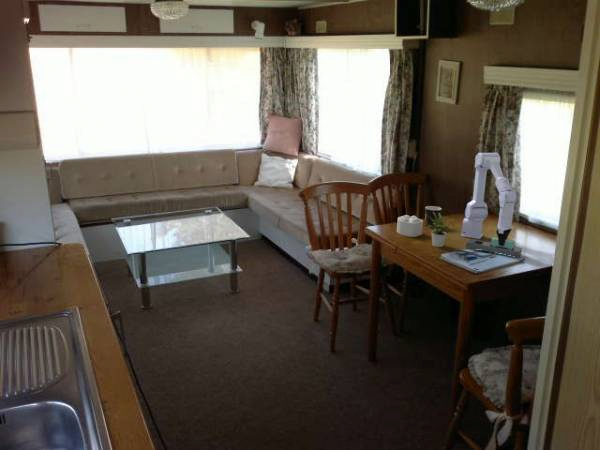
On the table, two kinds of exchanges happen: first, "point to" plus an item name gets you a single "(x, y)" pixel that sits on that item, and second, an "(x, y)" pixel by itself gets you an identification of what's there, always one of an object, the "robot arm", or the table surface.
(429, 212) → the coffee mug
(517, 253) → the rail
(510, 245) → the teal rectangular block
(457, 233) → the table surface
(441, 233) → the house plant
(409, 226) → the lumpy-topped squat cylinder
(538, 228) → the table surface
